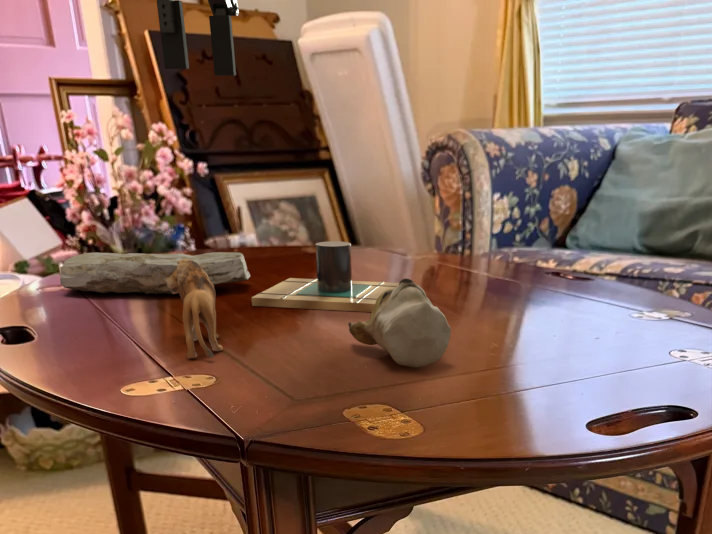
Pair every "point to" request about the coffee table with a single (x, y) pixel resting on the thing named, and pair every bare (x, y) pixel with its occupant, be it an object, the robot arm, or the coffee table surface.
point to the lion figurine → (195, 304)
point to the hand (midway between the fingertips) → (202, 72)
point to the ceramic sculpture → (405, 326)
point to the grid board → (322, 296)
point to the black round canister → (334, 266)
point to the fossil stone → (145, 271)
